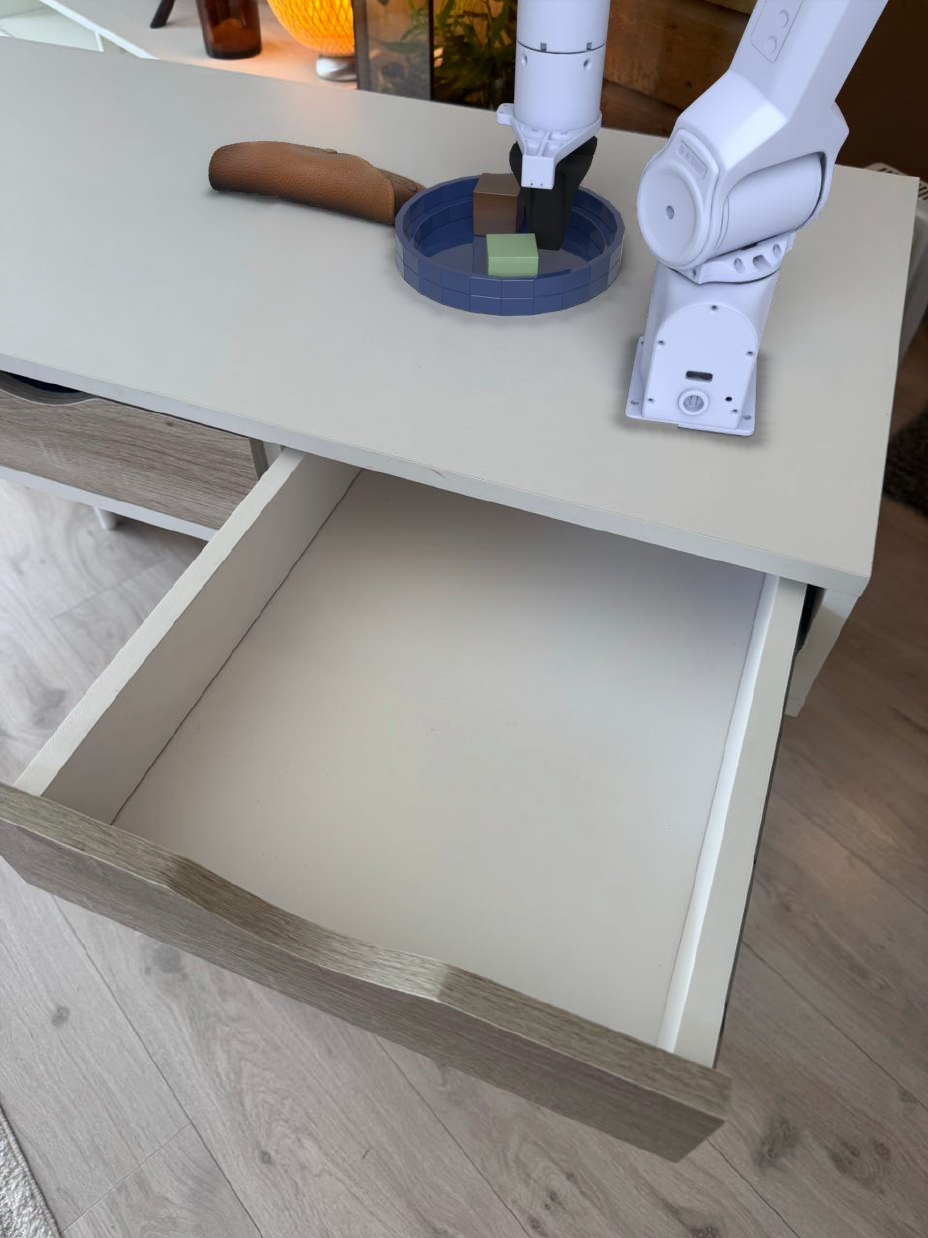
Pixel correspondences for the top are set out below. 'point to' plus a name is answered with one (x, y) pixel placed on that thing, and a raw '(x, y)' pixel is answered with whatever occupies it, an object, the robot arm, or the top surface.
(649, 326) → the robot arm
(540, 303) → the bowl
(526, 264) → the sage block
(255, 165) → the sunglasses case
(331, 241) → the top surface
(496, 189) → the walnut block
